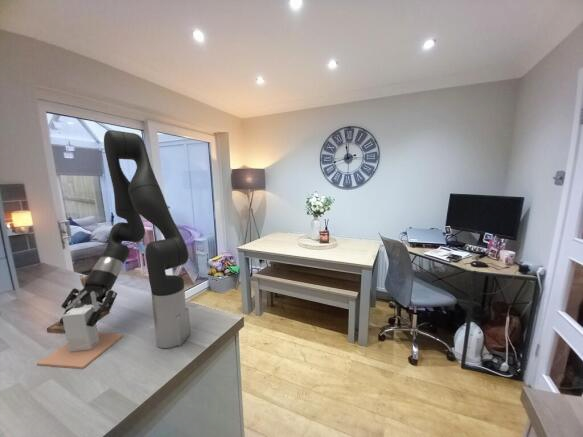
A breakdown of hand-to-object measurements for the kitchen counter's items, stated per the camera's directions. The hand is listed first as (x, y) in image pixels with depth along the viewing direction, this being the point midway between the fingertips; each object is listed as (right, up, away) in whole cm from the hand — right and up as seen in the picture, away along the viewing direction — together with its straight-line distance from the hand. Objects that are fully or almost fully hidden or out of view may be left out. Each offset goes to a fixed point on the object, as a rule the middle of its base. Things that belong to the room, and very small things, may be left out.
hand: (76, 325), depth 69 cm
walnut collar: (-14, -6, +17) cm, 23 cm away
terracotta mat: (0, -9, +3) cm, 9 cm away
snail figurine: (-25, -4, +34) cm, 42 cm away
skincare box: (0, -8, +3) cm, 9 cm away
